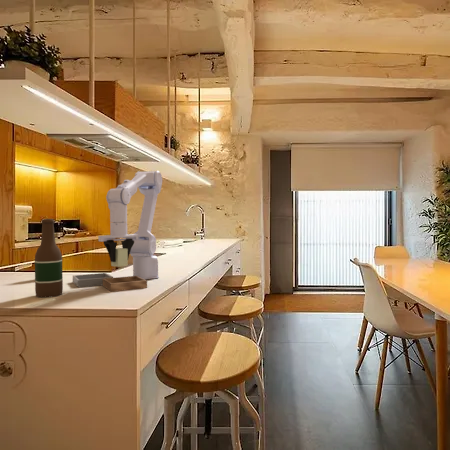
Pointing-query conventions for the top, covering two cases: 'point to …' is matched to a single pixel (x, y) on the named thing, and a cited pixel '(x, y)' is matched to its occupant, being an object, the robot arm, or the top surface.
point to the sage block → (121, 257)
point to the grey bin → (90, 279)
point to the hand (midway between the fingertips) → (119, 261)
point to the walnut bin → (124, 283)
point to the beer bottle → (48, 264)
